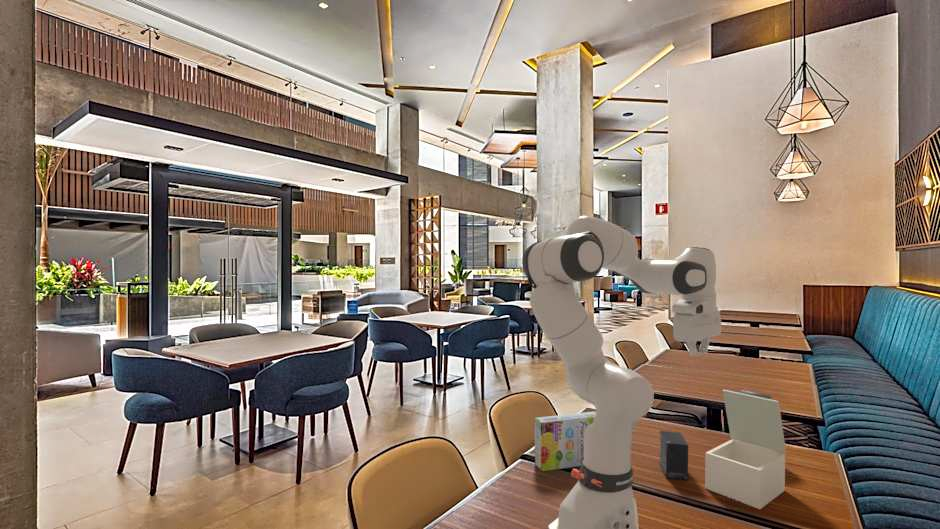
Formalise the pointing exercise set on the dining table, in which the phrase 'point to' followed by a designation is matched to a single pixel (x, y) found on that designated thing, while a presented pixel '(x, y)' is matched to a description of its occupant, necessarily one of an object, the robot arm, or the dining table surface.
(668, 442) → the small box
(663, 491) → the dining table surface
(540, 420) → the snack box
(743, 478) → the carton
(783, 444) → the lid
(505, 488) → the dining table surface
